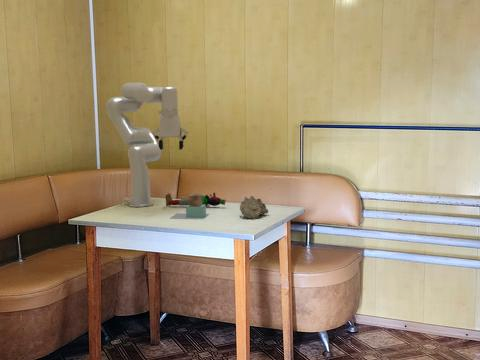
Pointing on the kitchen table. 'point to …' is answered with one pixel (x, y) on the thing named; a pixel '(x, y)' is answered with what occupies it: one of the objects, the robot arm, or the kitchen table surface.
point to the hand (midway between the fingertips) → (171, 149)
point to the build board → (183, 216)
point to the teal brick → (196, 211)
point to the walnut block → (195, 200)
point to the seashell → (252, 207)
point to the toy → (205, 201)
